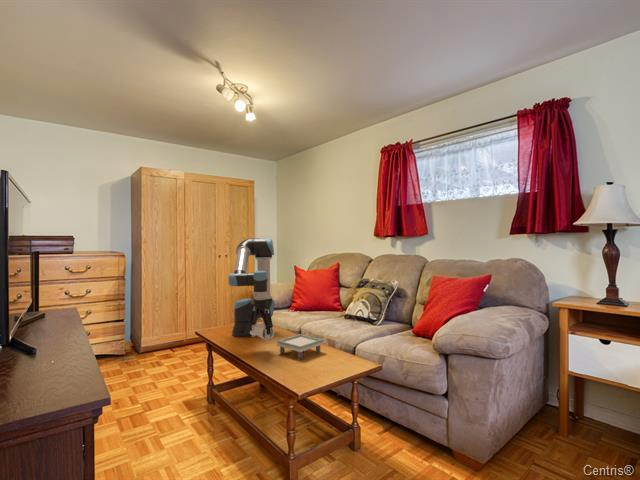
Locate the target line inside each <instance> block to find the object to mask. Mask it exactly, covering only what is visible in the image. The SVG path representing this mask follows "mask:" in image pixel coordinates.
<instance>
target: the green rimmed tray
mask: <svg viewBox="0 0 640 480" xmlns="http://www.w3.org/2000/svg"><path fill="white" fill-rule="evenodd" d="M323 345H324V338H318V337H314V336H310V335H306V334H302V333H300V334H299V333H298V334H295V335H293V336H292V335H291V336H289V337H285V338H282V339H279V340H276V346H277V347H279V354H280V355H285V354H286V353H285V349H287V350H292V351H295V352H297V360H298V361H302V360H303V357H304V356H303V355H304V354H303V352H306V351H308V350H312V349H314V348H315V353H316V354H320V353H321V346H323Z"/></svg>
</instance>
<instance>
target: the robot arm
mask: <svg viewBox="0 0 640 480" xmlns="http://www.w3.org/2000/svg"><path fill="white" fill-rule="evenodd" d="M235 255H236V259H235V264H234V269H233V272H231V273H229V274H228V285H229V286H230V287H253V299H252V298H242V299H238V300H236V301H235V302H234V308H233V309H234V324H233V327H232V331H231V335H232V336H233V337H236V336H237V338H243V337H244V338H245V337H250V336H251V337H252V338H254V337H258V336H257V335H251V334H250V331H252V330H254V327H255V325H256V324H257V323H258V322H257V321H258V320H259V319H262V322H263V323H264V324H265V327H266V328H265V340H264V341H265V342H266V341H270V340H271V339H270V328H272V327H273V328H274V324H273V320H272V318H273V315H274V311H275V309H274V308H275V300H274V299H273V296H271V260H272V259H273V256H275V249H274V244H273V239H272V238H271V237H270V238H268V237H265V238H264V237H260V238H259V237H256V238H254V237H253V238H252V237H251V238H249V237H248V238H247V239H244V240H243V241H241V242H239V244H238V245H237V247H236V249H235ZM250 256H254V257H255V258H254V259H256V261H257V263H256V264H257V265H256V267H257V270H255V271H254V272H247V271H248V265H249V264H248V263H249V258H250Z"/></svg>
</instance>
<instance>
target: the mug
mask: <svg viewBox="0 0 640 480" xmlns="http://www.w3.org/2000/svg"><path fill="white" fill-rule="evenodd" d="M256 323H257V324H256V325H255V327H254V330H252V331H250V334H251V336H252V335H257V336H256V337H259V338H261V339H262V340H263V341H265V328H266V327H265V324H264V321H260V322H256ZM274 335H275V329H274V326H273V327H272V328H270V340H271V339H272V338H274Z"/></svg>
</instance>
